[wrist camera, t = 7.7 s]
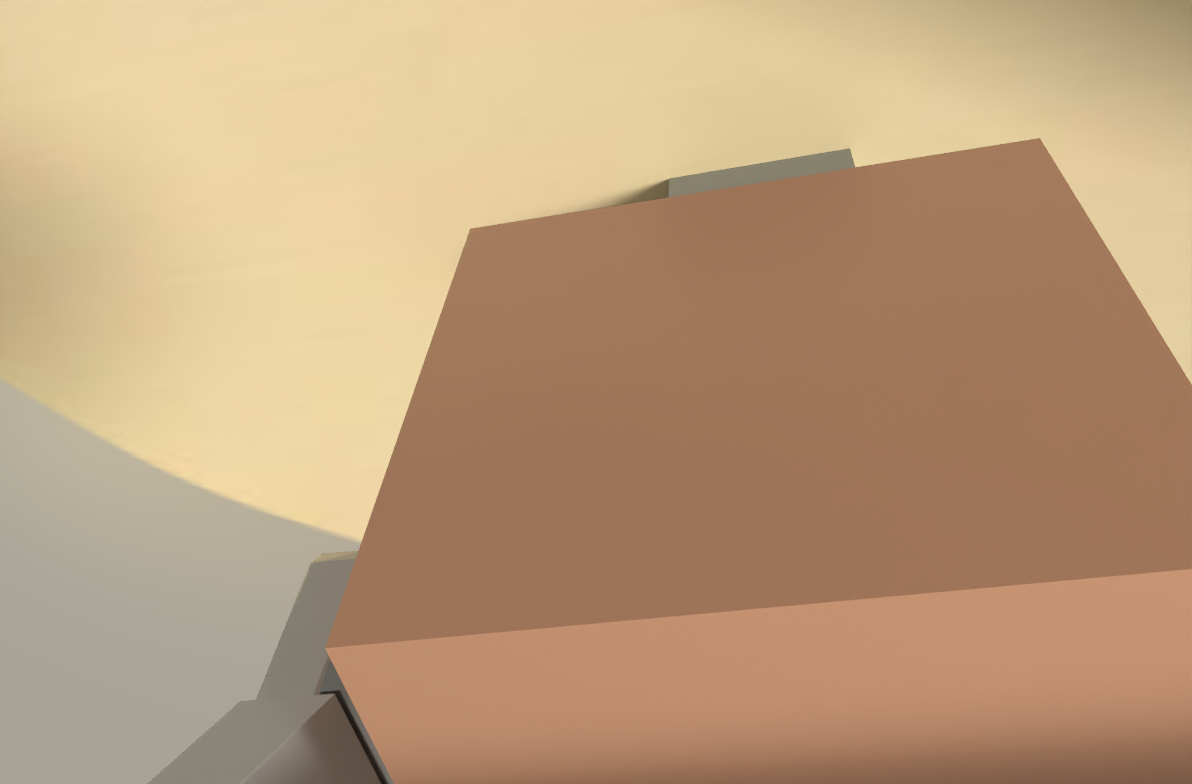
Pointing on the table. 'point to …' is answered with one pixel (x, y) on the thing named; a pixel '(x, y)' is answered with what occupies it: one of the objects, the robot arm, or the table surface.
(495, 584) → the terracotta block
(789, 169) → the slate block
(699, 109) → the table surface
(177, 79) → the table surface
